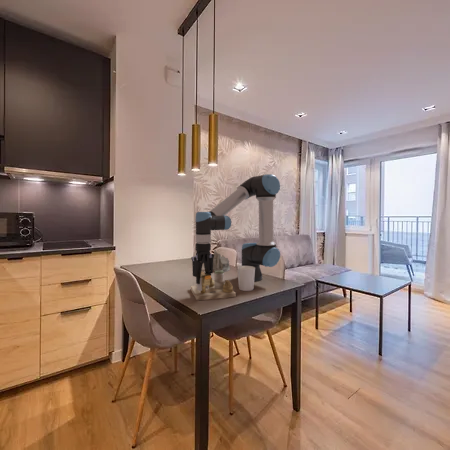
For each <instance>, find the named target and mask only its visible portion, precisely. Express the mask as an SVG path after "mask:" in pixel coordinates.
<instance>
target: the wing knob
mask: <svg viewBox="0 0 450 450" xmlns="http://www.w3.org/2000/svg"><path fill="white" fill-rule="evenodd" d="M201 277H202V291H201V293H206V286H208V285H210V279H211V277H212V274H211V275H209V274H207V273H205V271H203V270H202V271H201Z"/></svg>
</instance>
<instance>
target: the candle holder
mask: <svg viewBox="0 0 450 450" xmlns="http://www.w3.org/2000/svg"><path fill="white" fill-rule="evenodd" d="M254 277H255V267H253V266H242V265H239V266H237V281H238V284H237V285H238V289H239V290H240V291H242V292H243V291H244V292H251V291H254V289H255V281H254Z"/></svg>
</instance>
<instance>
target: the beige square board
mask: <svg viewBox="0 0 450 450" xmlns="http://www.w3.org/2000/svg"><path fill="white" fill-rule="evenodd" d="M213 273H214V279H213V277H212V276H211V279H210V285H209V289H207V288H206V293H201V291H200V290H197V284H196V285H190V291H191V293H192V295H193V296H194V298H195V300H196V301H204V300H215V299H217V300H218V299H227V298H236V297H237V296H236V295H237V292H235V290H234V287H233V284H232V282H231V281H230V280H229V279H226V280H225V278H224V277H225V276H224V275H225V272H224V271H223V270H222V271H214V272H213Z"/></svg>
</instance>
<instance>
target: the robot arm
mask: <svg viewBox="0 0 450 450" xmlns="http://www.w3.org/2000/svg"><path fill="white" fill-rule="evenodd" d="M280 189H281V182H280V180H279V178H278V177H277V175H274V174H271V173H270V174H267V173H266V174H265V173H264V174H262V175H255V176H252V177H249V178H248V179H246V180H245V181H244V182H242V183H240V185H238V186H237V187H236V190H235V191H233V192H232V193H231V194H230V195H228V196H227V197H226V198H225V199H224V200H221V202H220V203H218V204H217V205H216V206H214V208H212V209H211V210H209V211H196V213H195V221H194V222H195V252H196V253H195V255H194V256H191V258H190V259H191V262H192V263H191V265H192V276H193V277H195V279H196V280H195V281H196V282H195V284H196V285H197V290H200V291H202V277H201V271H203V267H204V272H205V273H207V274H209V275H211V276H212V274H213V273H214V270H213V258H214V253H211V250H212V249H211V245H212V244H211V242H212V240H211V239H212V237H211V235H212V234H211V233H212V231H225V230H226V231H227V230H230V228H231V227H232V219H231V217H230V216H229V215H227V214H229V213H230V212H231V211H232V210H234V209H235V208H237V206H239V205H240V204H241V203H242V202H243V201H247V200H249V199H250V198H251V197H255V199H256V200H257V201H258V242H248V243H242V244H241V266H253V267H255V277H254V282H259V281H261V280H263V273H262V270H261V269H262V268H260V267H261V266H264V267H268V268H273V267H275V266H276V265H277V264H278V263H279V261H280V258H281V251H280V250H279V248H278V247H277V243H276V242H275V241H274V200H275V199H276V198H277V194H278V193H279V191H280ZM206 288H207V289H209V285H208V286H206Z"/></svg>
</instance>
